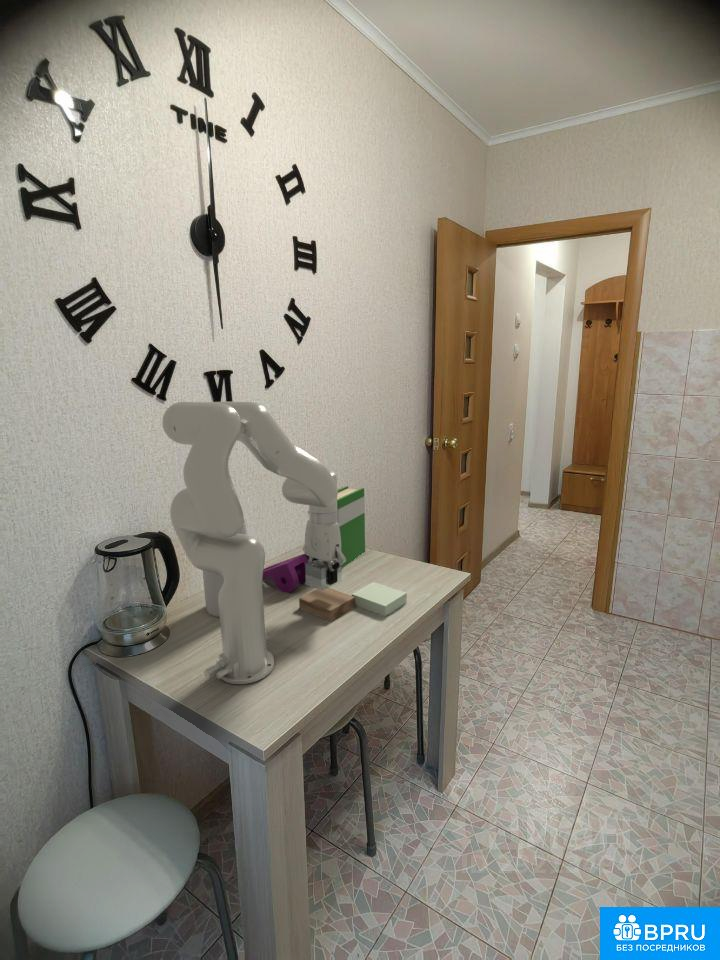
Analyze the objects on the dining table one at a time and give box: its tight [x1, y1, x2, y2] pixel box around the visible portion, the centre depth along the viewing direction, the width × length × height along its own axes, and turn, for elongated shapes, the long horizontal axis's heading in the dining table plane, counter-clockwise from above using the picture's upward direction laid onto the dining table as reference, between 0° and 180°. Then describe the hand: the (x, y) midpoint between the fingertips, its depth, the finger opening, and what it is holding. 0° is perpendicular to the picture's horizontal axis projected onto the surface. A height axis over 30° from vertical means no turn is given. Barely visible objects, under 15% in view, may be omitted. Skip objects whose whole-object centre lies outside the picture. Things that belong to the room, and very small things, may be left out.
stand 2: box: [351, 581, 407, 617], centre depth 140 cm, size 10×12×3 cm
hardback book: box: [337, 485, 366, 569], centre depth 170 cm, size 18×7×24 cm, turn 151°
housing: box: [305, 559, 343, 591], centre depth 135 cm, size 8×6×7 cm
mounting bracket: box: [262, 553, 308, 594], centre depth 154 cm, size 10×8×18 cm
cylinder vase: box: [202, 519, 248, 618], centre depth 136 cm, size 12×12×25 cm
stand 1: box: [298, 587, 356, 622], centre depth 138 cm, size 10×12×3 cm
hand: (323, 579), depth 135 cm, fingers closed on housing, 6 cm apart
